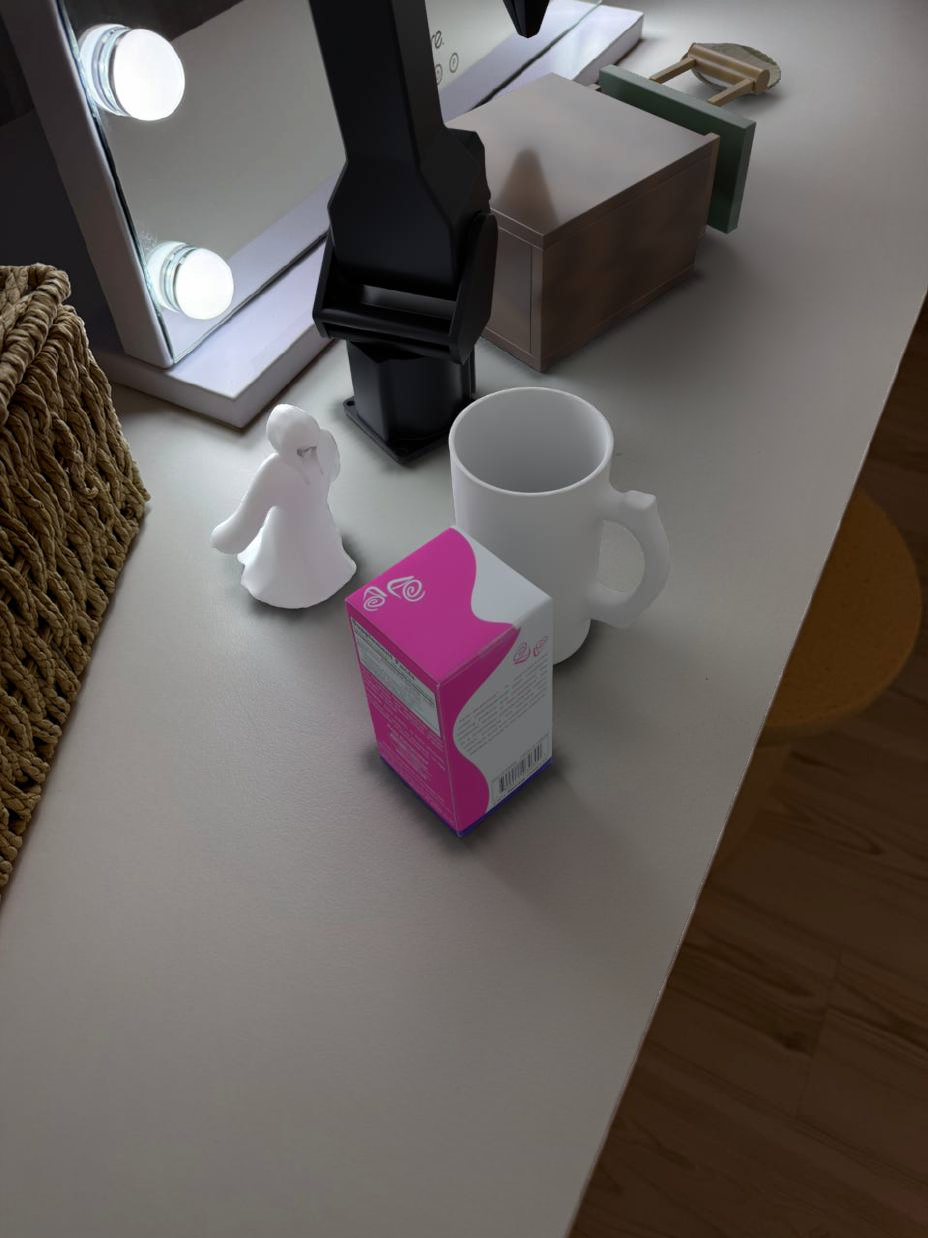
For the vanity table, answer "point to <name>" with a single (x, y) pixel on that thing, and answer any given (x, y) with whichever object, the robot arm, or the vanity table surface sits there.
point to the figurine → (290, 517)
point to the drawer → (701, 120)
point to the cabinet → (583, 212)
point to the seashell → (743, 54)
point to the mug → (552, 504)
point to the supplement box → (457, 675)
